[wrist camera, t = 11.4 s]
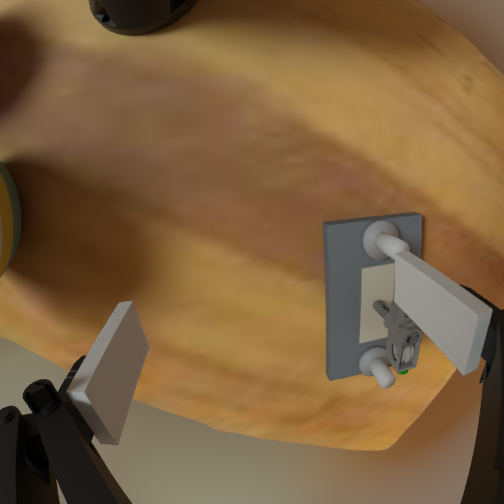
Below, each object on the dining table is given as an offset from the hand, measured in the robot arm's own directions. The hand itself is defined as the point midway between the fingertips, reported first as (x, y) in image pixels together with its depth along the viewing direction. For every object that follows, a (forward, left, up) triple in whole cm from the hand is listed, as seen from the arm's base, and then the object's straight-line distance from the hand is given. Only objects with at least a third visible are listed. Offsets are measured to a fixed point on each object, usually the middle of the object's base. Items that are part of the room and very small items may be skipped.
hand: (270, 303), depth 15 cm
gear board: (+14, +17, -25) cm, 33 cm away
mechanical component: (+14, +17, -23) cm, 31 cm away
